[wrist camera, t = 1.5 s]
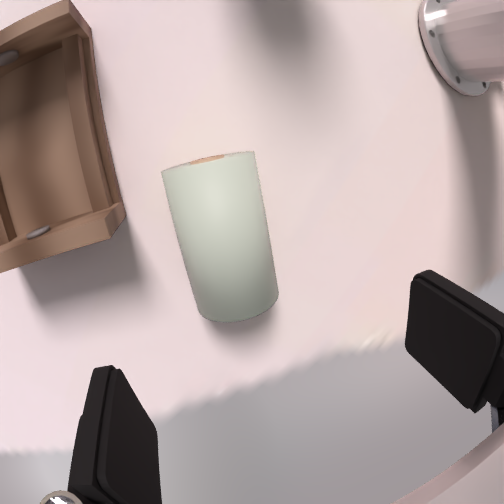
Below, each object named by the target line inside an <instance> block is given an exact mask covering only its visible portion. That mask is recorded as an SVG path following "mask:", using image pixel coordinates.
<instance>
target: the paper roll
mask: <svg viewBox="0 0 504 504" xmlns="http://www.w3.org/2000/svg"><path fill="white" fill-rule="evenodd" d="M161 174H162V178H163V182H164V186H165V191H166V195H167V199H168V203H169V207H170V211H171V215H172V219H173V223H174V226H175V230H176V234H177V238H178V242H179V245H180V249H181V253H182V256H183V260H184V263H185V267H186V270H187V274H188V277H189V281H190V284H191V287H192V291H193V294H194V298H195V301H196V304H197V307H198V311H199V313H200V314H201V315H202V316H203V317H204V318H206V319H208V320H211V321H216V322H237V321H242V320H246V319H250V318H253V317H255V316H258V315H260V314H262V313H263V312H265V311H267V310H268V309H269V308H270V307H272V306H273V305H274V303H275V302H276V301H277V299H278V295H279V292H278V286H277V280H276V273H275V267H274V261H273V255H272V249H271V244H270V238H269V232H268V226H267V220H266V214H265V209H264V203H263V197H262V192H261V186H260V180H259V175H258V169H257V164H256V158H255V153H254V151H246V152H238V153H231V154H225V155H217V156H211V157H207V158H202V159H198V160H195V161H191V162H189V163H185V164H181V165H178V166H175V167H171V168H169V169H166V170H163V171H162V172H161Z"/></svg>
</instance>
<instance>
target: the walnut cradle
mask: <svg viewBox="0 0 504 504" xmlns="http://www.w3.org/2000/svg"><path fill="white" fill-rule="evenodd" d="M125 217H126V212H125V208H124V205H123V201H122V197H121V193H120V190H119V186H118V182H117V178H116V174H115V169H114V165H113V161H112V156H111V152H110V147H109V143H108V138H107V133H106V128H105V123H104V117H103V112H102V106H101V101H100V95H99V88H98V82H97V75H96V68H95V60H94V52H93V42H92V32H91V28H90V26H89V25H88V24H87V22H86V21H85V20H84V18H83V17H82V15H81V14H80V13H79V11H78V10H77V9H76V7H75V6H74V5H73V3H72V2H71V1H70V0H62V1H59V2H57V3H55V4H52V5H50V6H48V7H46V8H43V9H41V10H39V11H37V12H35V13H33V14H31V15H29V16H27V17H25V18H23V19H21V20H19V21H17V22H15V23H13V24H12V25H10V26H8V27H6V28H5V29H3V30H1V31H0V273H2V272H5V271H8V270H11V269H14V268H17V267H20V266H23V265H26V264H29V263H32V262H35V261H38V260H41V259H44V258H47V257H51V256H54V255H57V254H60V253H63V252H67V251H70V250H73V249H76V248H80V247H83V246H86V245H90V244H93V243H96V242H100V241H103V240H107V239H110V238H111V237H112V235H113V234H114V232H115V231H116V229H117V228H118V227H119V225H120V224H121V222H122V221H123V219H124V218H125Z"/></svg>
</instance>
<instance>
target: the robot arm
mask: <svg viewBox="0 0 504 504" xmlns="http://www.w3.org/2000/svg"><path fill="white" fill-rule="evenodd" d="M419 27H420V31H421V36H422V39H423V42H424V45H425V48H426V50H427V52H428V54H429V56H430V59H431V60H432V62H433V64H434V65H435V67H436V69H437V70H438V72H439V73H440V74H441V76H442V77H443V78H444V79H445V81H446V82H447V83H448V84H449V85H450V86H451V87H453V88H454V89H455V90H456V91H458V92H460V93H461V94H464V95H468V96H477V95H481V94H483V93H484V92H486V90H487V89H488V88H489V85H490V83H491V82H492V81H504V0H423V1H422V2H421V5H420V8H419ZM405 347H406V350H407V352H408V353H409V354H410V355H411V356H412V357H413V358H414V359H416V360H417V361H418V362H419V363H420V364H421V365H422V366H423V367H424V368H425V369H426V370H427V371H428V372H429V373H430V374H431V375H432V376H433V377H434V378H435V379H436V380H437V381H438V382H439V383H440V384H442V386H444V387H445V388H446V389H447V390H448V391H449V392H450V393H451V394H452V395H453V396H454V397H455V398H456V399H457V400H458V401H459V402H460V403H461V404H462V405H463V406H464V407H465V408H467V409H468V408H470V409H471V410H472V411H473V412H474V413H476V412H477V411H479V410H480V409H481V408H482V407H484V406H485V404H486V402H487V401H488V402H489V403H490V404H491V418H492V434H491V435H490V436H488V437H487V438H486V439H485V440H484V441H482V442H481V443H480V444H479V445H478V446H476V447H475V448H474V449H473V450H471V451H470V452H469V453H468V454H466V455H465V456H464V457H462V458H461V459H460V460H458V461H457V462H456V463H454V464H453V465H452V466H451V467H449V468H448V469H446V470H445V471H443V472H442V473H440V474H439V475H437V476H436V477H435V478H433V479H432V480H430V481H428V482H427V483H425V484H424V485H422V486H420V487H419V488H417V489H416V490H414V491H412V492H411V493H409V494H408V495H405V496H404V497H402V498H400V499H398V500H397V501H395V502H393V503H391V504H504V313H502V312H500V311H499V310H497V309H496V308H494V307H493V306H491V305H489V304H488V303H486V302H485V301H483V300H481V299H480V298H478V297H476V296H475V295H473V294H472V293H470V292H468V291H467V290H465V289H463V288H462V287H460V286H458V285H456V284H455V283H453V282H451V281H450V280H448V279H446V278H444V277H443V276H441V275H439V274H437V273H436V272H434V271H432V270H426V271H423V272H421V273H418V274H416V275H415V276H414V278H413V281H412V282H411V285H410V299H409V311H408V321H407V330H406V338H405ZM40 504H162V499H161V487H160V474H159V458H158V438H157V431H156V428H155V426H154V424H153V422H152V421H151V419H150V418H149V416H148V415H147V413H146V411H145V410H144V408H143V407H142V405H141V403H140V402H139V400H138V398H137V397H136V395H135V393H134V391H133V390H132V388H131V386H130V384H129V383H128V381H127V379H126V377H125V375H124V374H123V372H122V370H121V369H116V368H115V367H114V366H113V365H109V366H104V367H98V368H95V369H94V370H93V372H92V376H91V380H90V384H89V388H88V393H87V397H86V401H85V406H84V410H83V415H82V416H81V417H80V420H79V424H78V429H77V434H76V439H75V445H74V450H73V456H72V462H71V469H70V475H69V483H68V491H61V490H60V491H54V492H52V493H50V494H48V495H46V496H45V497H44V498H43V499H42V501H41V502H40Z"/></svg>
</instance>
